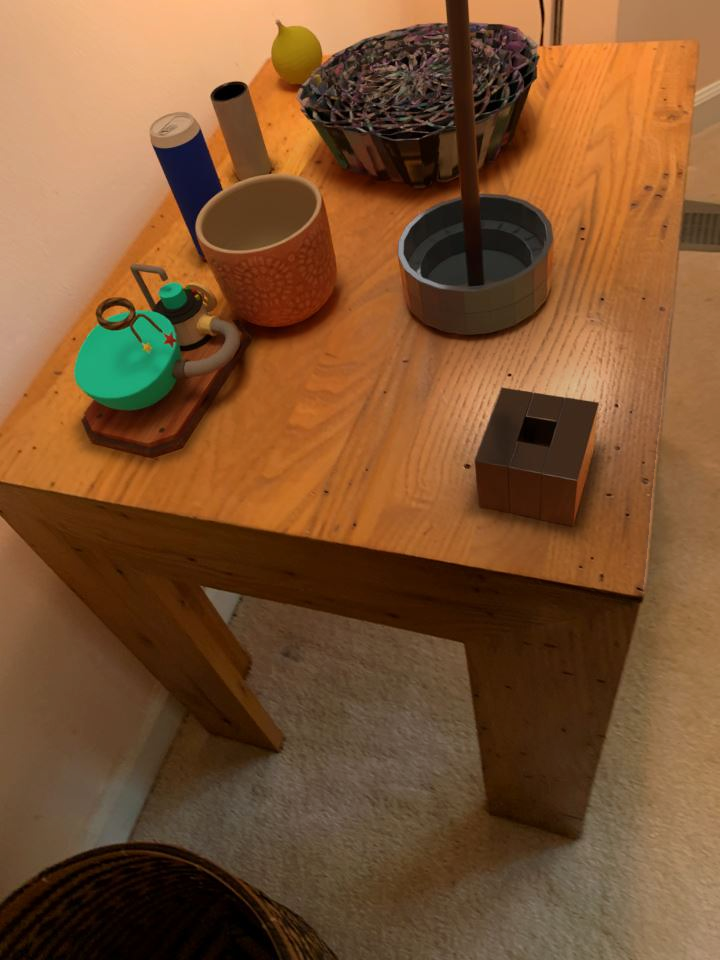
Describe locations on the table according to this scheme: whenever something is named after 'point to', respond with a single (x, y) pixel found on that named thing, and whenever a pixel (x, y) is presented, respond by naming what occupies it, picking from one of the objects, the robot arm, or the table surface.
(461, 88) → the stirring stick
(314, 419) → the table surface
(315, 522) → the table surface
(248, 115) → the cardboard tube
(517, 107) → the decorative bowl
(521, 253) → the bowl
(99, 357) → the contraption on wooden base
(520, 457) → the holder
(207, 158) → the beverage can
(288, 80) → the yellow oval fruit
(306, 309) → the planter
